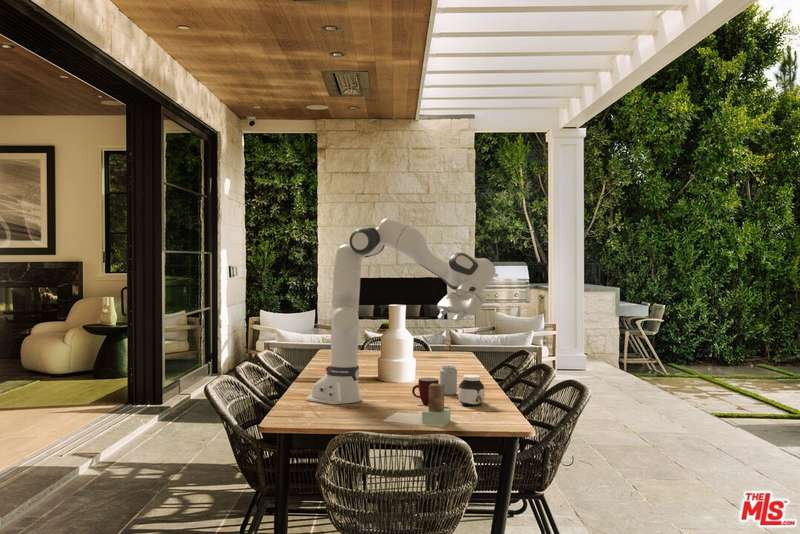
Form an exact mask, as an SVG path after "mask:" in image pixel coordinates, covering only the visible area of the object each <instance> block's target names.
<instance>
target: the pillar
mask: <svg viewBox="0 0 800 534" xmlns="http://www.w3.org/2000/svg"><path fill="white" fill-rule="evenodd" d="M427 408H428V411H432V412H442V411H443V410H444V409H445V395H444V384H440V383H439V384H434V383H432V384H431V385H429V405H428V407H427Z"/></svg>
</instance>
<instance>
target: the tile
mask: <svg viewBox="0 0 800 534" xmlns="http://www.w3.org/2000/svg"><path fill="white" fill-rule="evenodd" d="M453 419H454V417H452V416H450V421H452V420H453ZM382 422H388V423H389V422H390V423H397V424H398V423H399V424H400V423H401V424H410V425H419V426H420V425H421V426H429V427H431V426H432V427H441V428H443V427H444V426H446V424H445V425H435V424H424V423H422V413H421V414H420V413H408V412H399V411H397V412H395V413H393V414H391V415H390V416H388V417H386V418H385V419H383V420H382Z"/></svg>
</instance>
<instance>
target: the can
mask: <svg viewBox="0 0 800 534" xmlns="http://www.w3.org/2000/svg"><path fill="white" fill-rule="evenodd" d="M439 384H444V396H448V395H450V396H455V395H456V394H457V393H458V370H457V367H456V366H453V365H443V366H441V368H440V370H439Z"/></svg>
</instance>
